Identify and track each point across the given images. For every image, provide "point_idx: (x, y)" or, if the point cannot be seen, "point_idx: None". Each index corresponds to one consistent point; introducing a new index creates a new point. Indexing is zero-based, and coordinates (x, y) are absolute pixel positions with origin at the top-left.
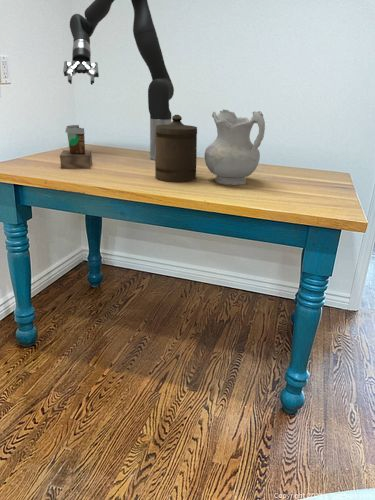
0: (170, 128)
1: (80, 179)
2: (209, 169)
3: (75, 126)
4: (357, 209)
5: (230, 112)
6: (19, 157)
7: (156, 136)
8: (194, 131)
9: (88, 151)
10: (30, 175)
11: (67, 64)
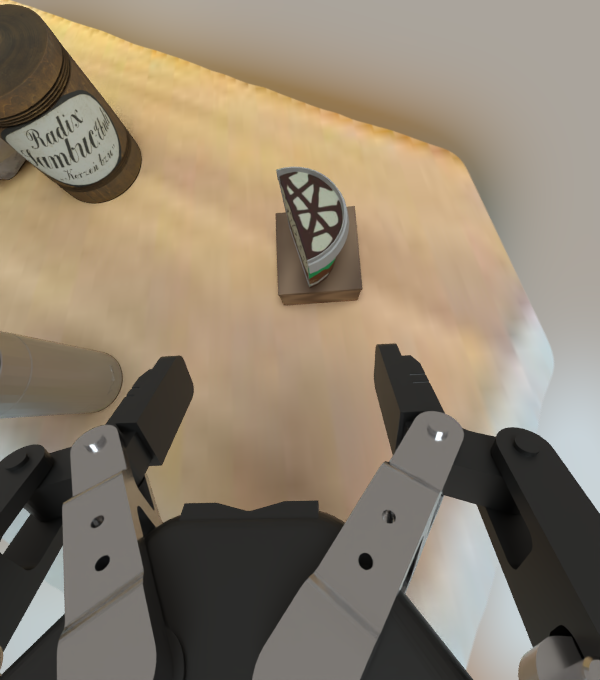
0: (20, 6)
1: (290, 134)
2: None
3: (319, 255)
4: None
5: None
6: (514, 371)
7: (71, 66)
8: None
9: (285, 276)
10: (401, 156)
11: (596, 658)
